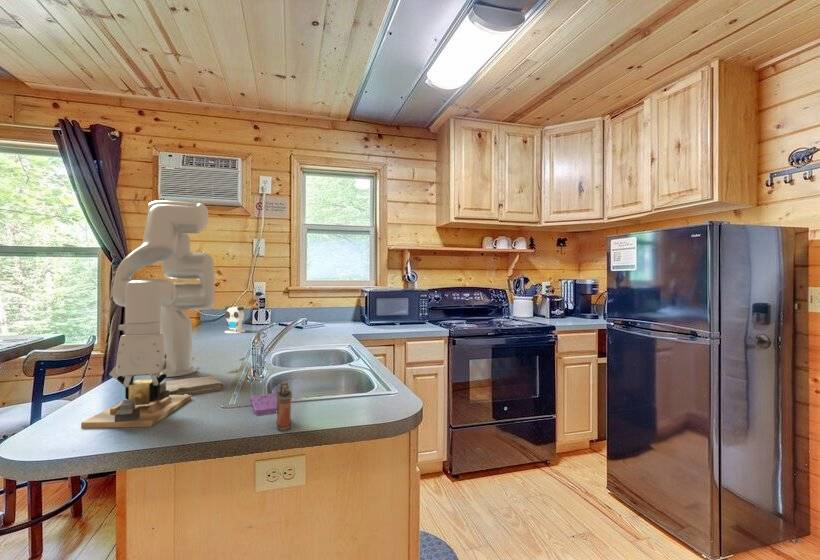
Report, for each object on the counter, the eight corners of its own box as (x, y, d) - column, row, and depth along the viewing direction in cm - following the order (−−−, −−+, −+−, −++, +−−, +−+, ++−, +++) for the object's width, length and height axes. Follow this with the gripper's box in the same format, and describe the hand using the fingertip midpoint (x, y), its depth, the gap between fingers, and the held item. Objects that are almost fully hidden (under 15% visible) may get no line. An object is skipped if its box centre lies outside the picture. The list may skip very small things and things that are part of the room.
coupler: (145, 406, 96) (145, 386, 96) (125, 408, 95) (125, 387, 95) (158, 395, 105) (158, 377, 105) (139, 396, 104) (140, 378, 104)
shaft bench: (134, 399, 109) (134, 381, 109) (190, 399, 111) (191, 380, 111) (80, 428, 89) (80, 405, 89) (150, 426, 91) (150, 404, 91)
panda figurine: (219, 332, 231) (219, 306, 231) (234, 329, 242) (235, 305, 241) (234, 333, 226) (234, 307, 226) (249, 331, 237) (249, 306, 237)
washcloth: (149, 391, 119) (149, 381, 118) (214, 382, 130) (214, 372, 130) (155, 402, 109) (155, 390, 109) (224, 390, 121) (224, 380, 121)
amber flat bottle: (275, 420, 96) (276, 379, 96) (290, 418, 98) (290, 378, 97) (276, 432, 89) (277, 388, 89) (292, 430, 90) (293, 387, 90)
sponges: (276, 399, 114) (276, 392, 114) (283, 413, 103) (283, 405, 103) (250, 402, 111) (250, 395, 111) (254, 417, 99) (254, 409, 99)
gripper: (96, 331, 94) (96, 408, 94) (176, 330, 99) (175, 403, 99) (111, 327, 101) (111, 398, 102) (184, 326, 106) (184, 394, 106)
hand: (142, 399), depth 100 cm, fingers closed on coupler, 4 cm apart
